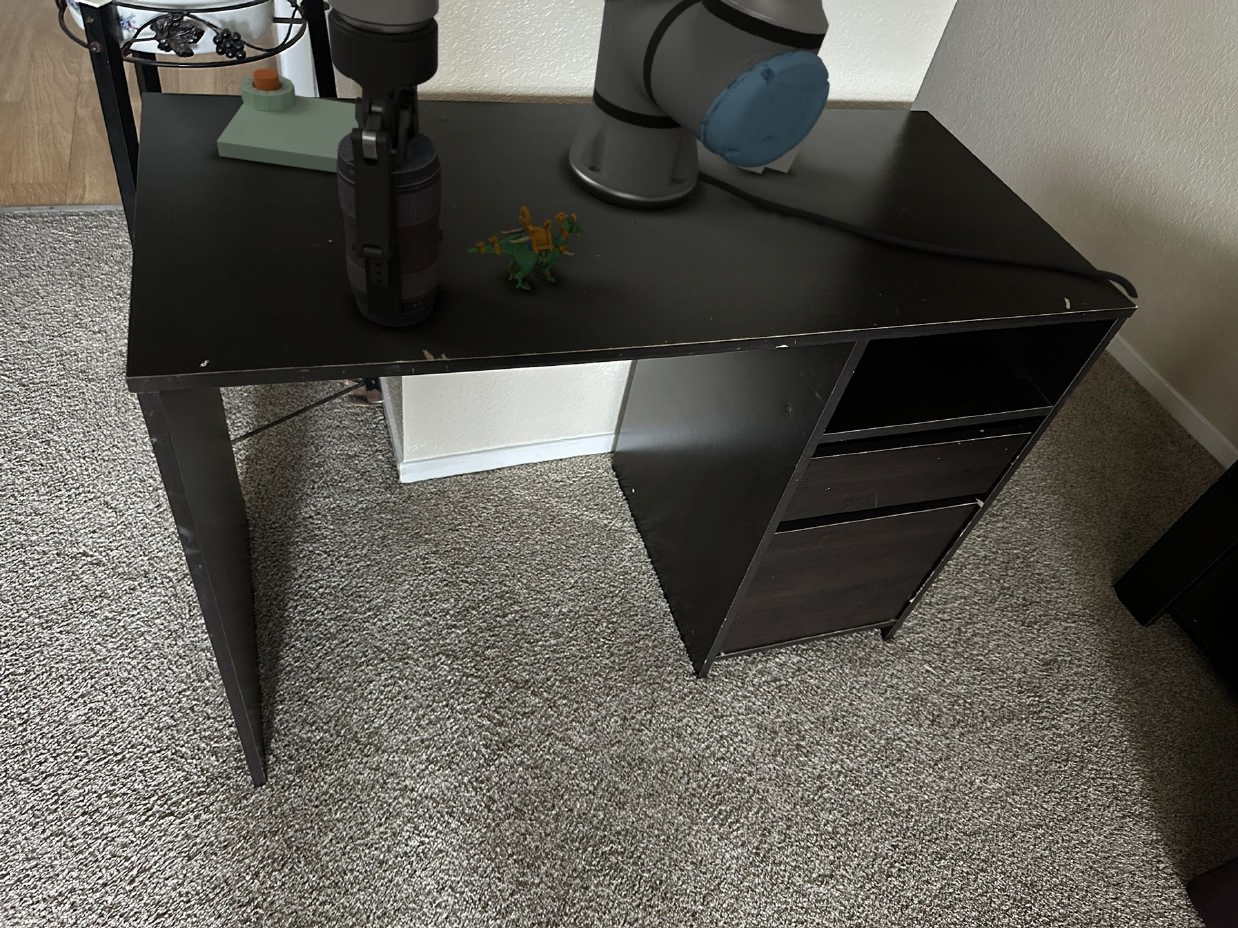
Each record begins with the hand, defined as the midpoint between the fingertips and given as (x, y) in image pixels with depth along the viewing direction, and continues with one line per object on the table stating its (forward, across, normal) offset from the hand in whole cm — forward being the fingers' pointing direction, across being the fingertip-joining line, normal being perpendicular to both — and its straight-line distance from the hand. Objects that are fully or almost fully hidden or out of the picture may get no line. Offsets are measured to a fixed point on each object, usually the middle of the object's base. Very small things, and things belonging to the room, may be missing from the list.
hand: (394, 283), depth 77 cm
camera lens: (+2, 0, 0) cm, 2 cm away
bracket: (+2, -42, +37) cm, 56 cm away
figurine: (+2, -6, +11) cm, 13 cm away
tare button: (-1, -32, -20) cm, 38 cm away
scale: (+2, -28, -15) cm, 32 cm away
